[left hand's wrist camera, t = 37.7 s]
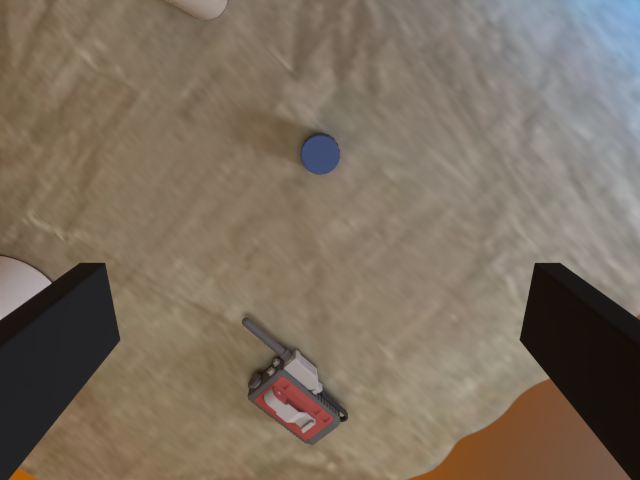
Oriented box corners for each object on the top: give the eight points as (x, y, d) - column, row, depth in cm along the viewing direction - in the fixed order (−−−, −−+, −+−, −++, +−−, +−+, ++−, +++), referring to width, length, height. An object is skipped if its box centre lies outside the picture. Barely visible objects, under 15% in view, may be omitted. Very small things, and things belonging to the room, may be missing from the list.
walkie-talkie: (359, 400, 55) (250, 308, 50) (362, 426, 51) (244, 327, 46) (313, 435, 57) (205, 350, 53) (313, 462, 53) (195, 372, 48)
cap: (316, 178, 45) (316, 182, 43) (293, 148, 44) (292, 151, 42) (346, 155, 44) (347, 159, 42) (323, 124, 43) (324, 126, 41)
